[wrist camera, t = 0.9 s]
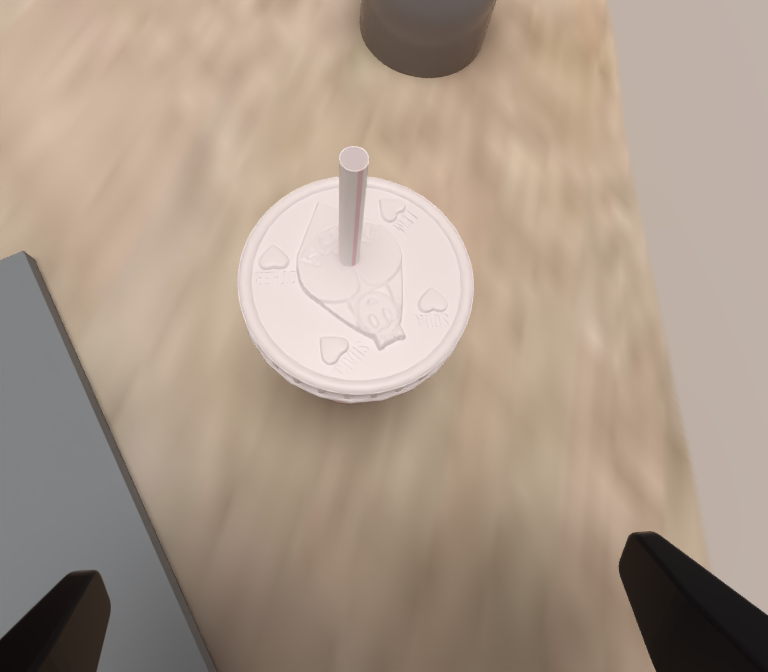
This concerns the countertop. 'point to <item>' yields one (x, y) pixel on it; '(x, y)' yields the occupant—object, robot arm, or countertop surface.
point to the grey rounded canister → (425, 33)
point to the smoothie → (355, 286)
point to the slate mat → (76, 493)
